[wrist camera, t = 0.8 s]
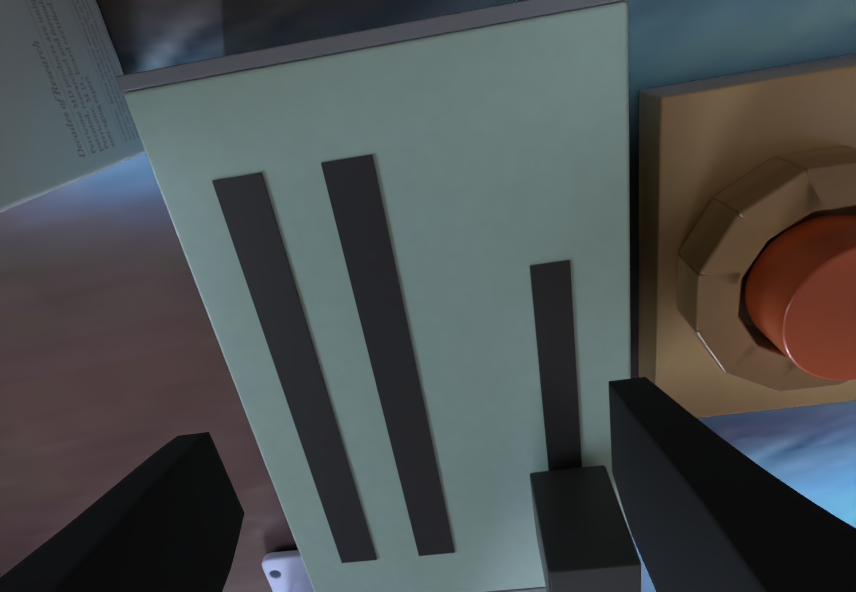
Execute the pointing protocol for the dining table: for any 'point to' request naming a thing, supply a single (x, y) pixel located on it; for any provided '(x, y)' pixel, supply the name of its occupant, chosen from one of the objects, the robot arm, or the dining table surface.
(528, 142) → the toaster
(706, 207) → the push button base
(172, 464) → the robot arm
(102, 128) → the white packaging box
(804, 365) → the red stop button
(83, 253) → the dining table surface
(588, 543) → the slider
